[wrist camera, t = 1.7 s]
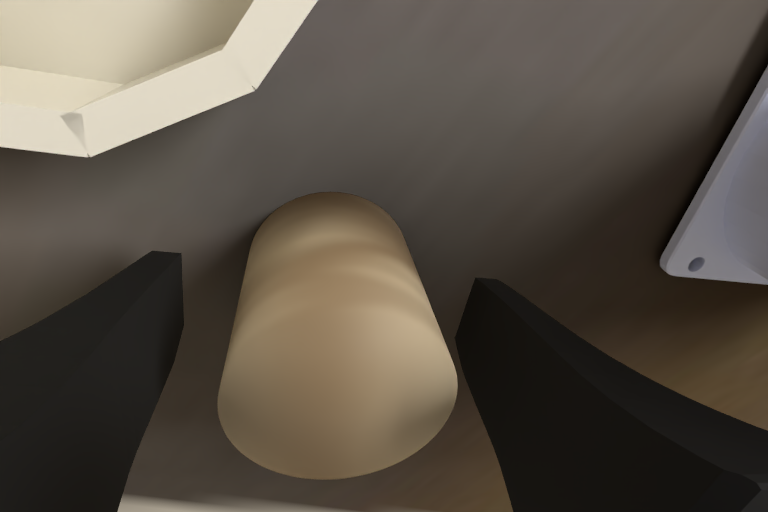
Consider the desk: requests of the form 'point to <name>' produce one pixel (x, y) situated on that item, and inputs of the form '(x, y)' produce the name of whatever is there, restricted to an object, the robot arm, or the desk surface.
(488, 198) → the desk surface
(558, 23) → the desk surface
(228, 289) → the desk surface
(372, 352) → the tan wooden cylinder
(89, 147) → the bowl
